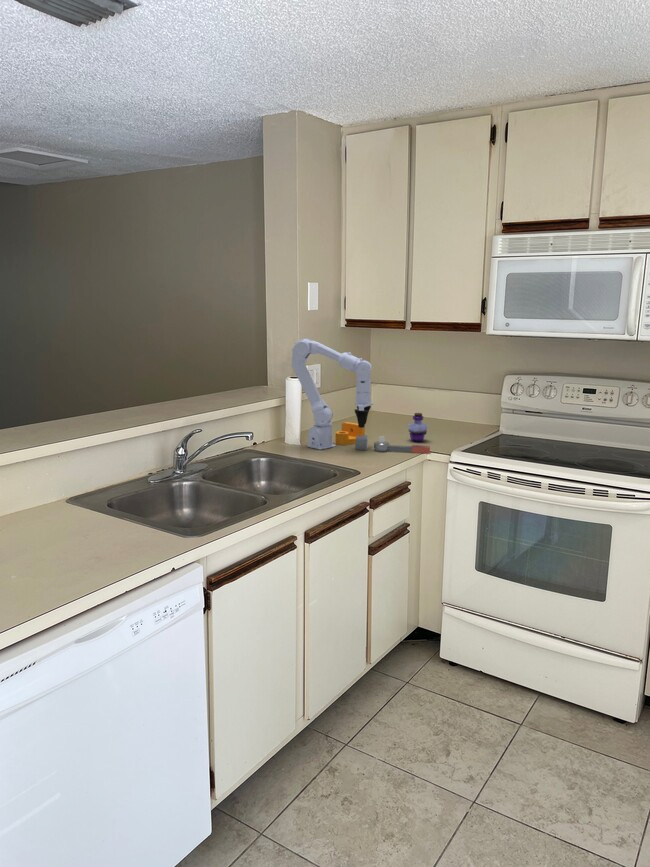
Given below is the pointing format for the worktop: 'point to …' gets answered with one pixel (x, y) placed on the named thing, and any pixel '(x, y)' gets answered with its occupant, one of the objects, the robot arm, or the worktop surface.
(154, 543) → the worktop surface
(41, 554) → the worktop surface
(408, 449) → the ratchet
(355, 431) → the bracket
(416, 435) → the potion bottle
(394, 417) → the worktop surface
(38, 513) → the worktop surface
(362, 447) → the grey brushed cube
